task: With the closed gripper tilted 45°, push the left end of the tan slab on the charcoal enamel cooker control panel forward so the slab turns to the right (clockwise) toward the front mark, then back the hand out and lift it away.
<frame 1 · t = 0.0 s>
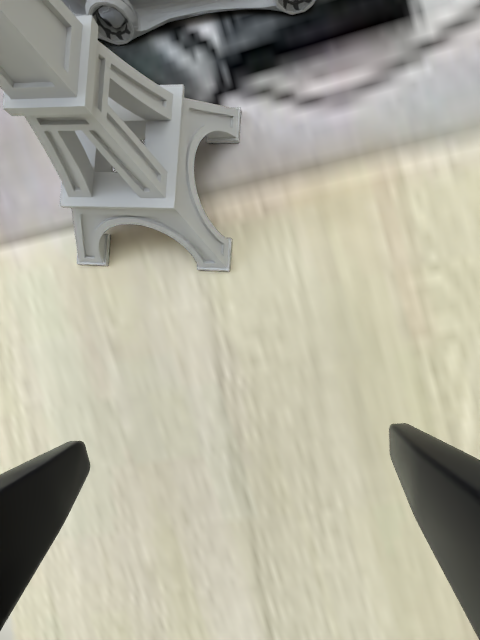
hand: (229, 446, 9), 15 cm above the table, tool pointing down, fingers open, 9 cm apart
eiffel tower: (158, 191, 26), on the table
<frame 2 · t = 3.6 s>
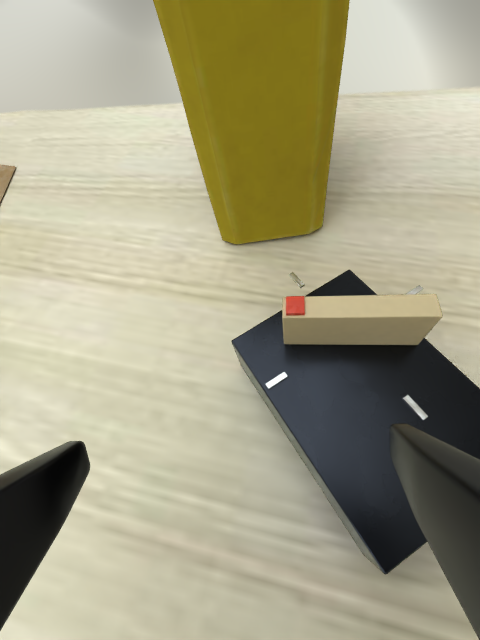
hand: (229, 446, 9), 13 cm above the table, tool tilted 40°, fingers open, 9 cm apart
tan slab: (352, 320, 17), point 6 cm above the table, hinge at 55.0°
yellow tapered bin: (264, 181, 35), on the table
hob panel: (350, 404, 21), on the table
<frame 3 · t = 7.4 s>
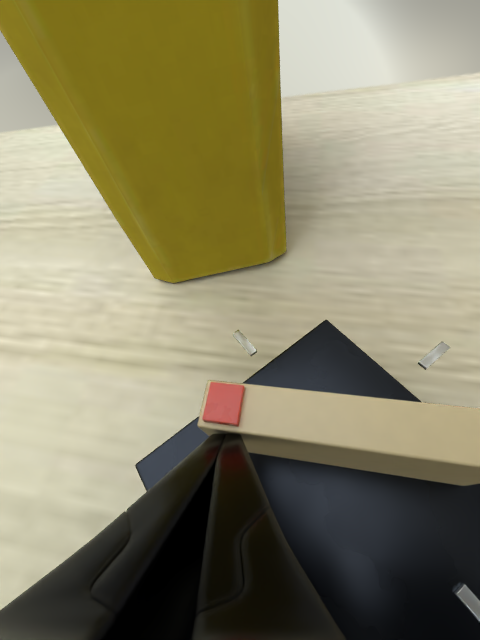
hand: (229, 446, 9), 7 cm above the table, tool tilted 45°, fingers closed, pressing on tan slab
tan slab: (339, 433, 9), point 6 cm above the table, hinge at 44.4°, touching gripper
yellow tapered bin: (212, 198, 28), on the table
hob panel: (350, 545, 13), on the table
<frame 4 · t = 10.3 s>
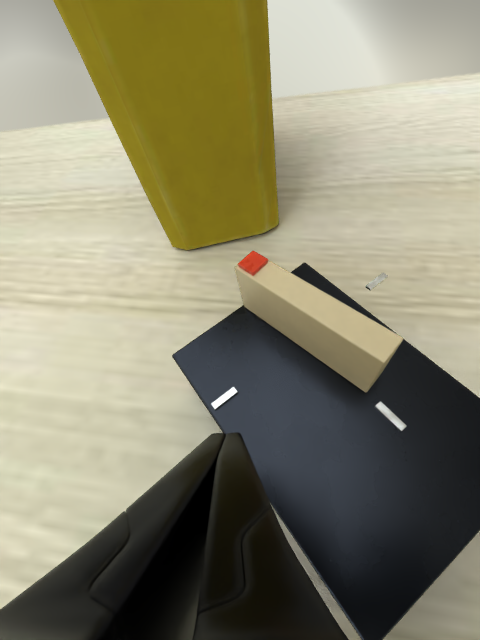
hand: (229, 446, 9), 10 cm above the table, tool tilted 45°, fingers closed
tan slab: (307, 317, 14), point 6 cm above the table, hinge at 9.8°
yellow tapered bin: (217, 183, 33), on the table
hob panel: (320, 418, 18), on the table
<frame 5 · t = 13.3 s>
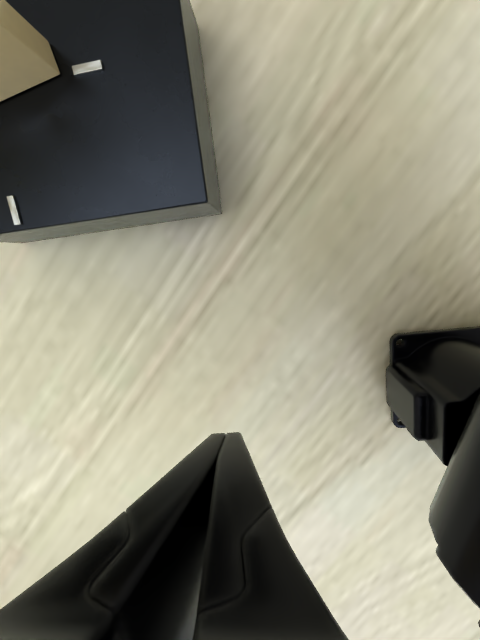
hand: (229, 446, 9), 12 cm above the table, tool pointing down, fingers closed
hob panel: (101, 145, 19), on the table
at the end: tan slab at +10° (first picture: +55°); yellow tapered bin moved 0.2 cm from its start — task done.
